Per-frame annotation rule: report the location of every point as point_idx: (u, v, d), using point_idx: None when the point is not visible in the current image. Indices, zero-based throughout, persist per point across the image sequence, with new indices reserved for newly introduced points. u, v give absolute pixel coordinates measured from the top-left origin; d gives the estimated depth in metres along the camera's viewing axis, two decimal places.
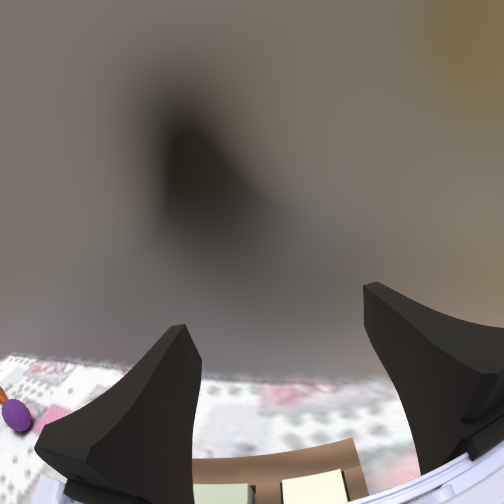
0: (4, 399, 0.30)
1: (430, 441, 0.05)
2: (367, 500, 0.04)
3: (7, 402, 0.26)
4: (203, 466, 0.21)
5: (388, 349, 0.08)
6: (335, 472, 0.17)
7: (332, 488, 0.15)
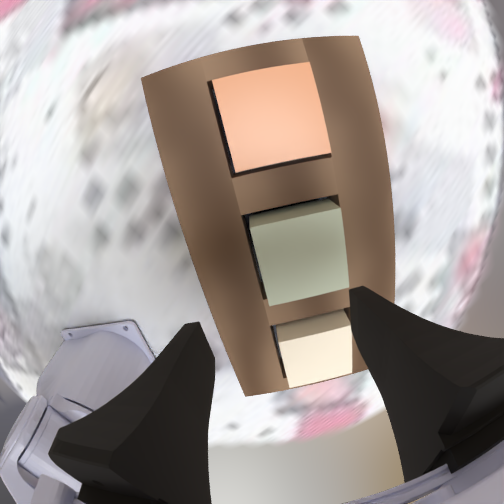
0: None
1: (412, 449, 0.05)
2: (367, 500, 0.04)
3: None
4: (377, 194, 0.16)
5: (373, 354, 0.08)
6: (349, 370, 0.19)
7: (328, 371, 0.19)
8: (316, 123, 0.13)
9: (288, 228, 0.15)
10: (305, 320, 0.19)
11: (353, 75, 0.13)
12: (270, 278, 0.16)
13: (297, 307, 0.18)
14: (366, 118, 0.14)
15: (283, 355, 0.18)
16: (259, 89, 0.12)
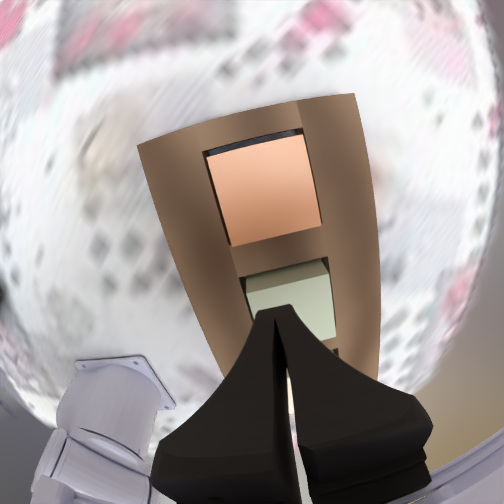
0: None
1: None
2: None
3: None
4: (365, 253, 0.17)
5: None
6: None
7: None
8: (308, 198, 0.14)
9: (280, 292, 0.16)
10: None
11: (347, 138, 0.15)
12: None
13: None
14: (357, 183, 0.16)
15: None
16: (253, 167, 0.14)
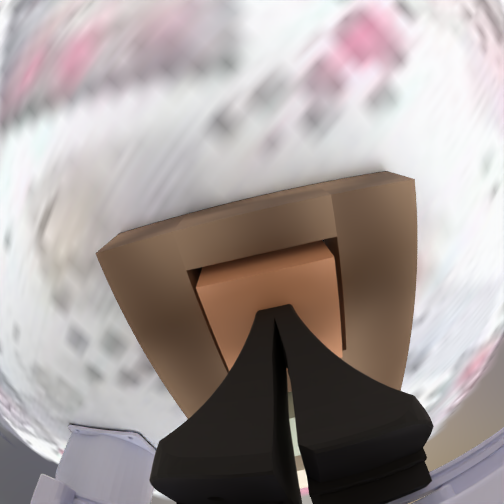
0: None
1: None
2: None
3: None
4: (389, 370, 0.13)
5: (290, 375, 0.09)
6: None
7: None
8: (330, 333, 0.11)
9: None
10: None
11: (395, 249, 0.10)
12: None
13: None
14: (397, 302, 0.11)
15: None
16: (261, 301, 0.10)
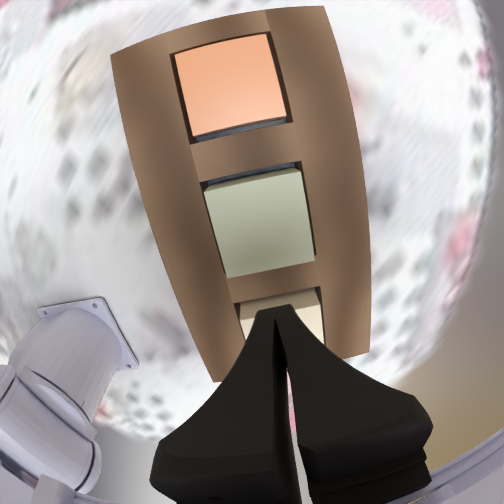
0: None
1: None
2: None
3: None
4: (345, 161, 0.15)
5: None
6: None
7: None
8: (271, 88, 0.13)
9: (243, 192, 0.14)
10: (271, 299, 0.18)
11: (317, 42, 0.12)
12: (227, 247, 0.15)
13: (261, 283, 0.18)
14: (331, 83, 0.13)
15: (246, 335, 0.17)
16: (217, 60, 0.12)
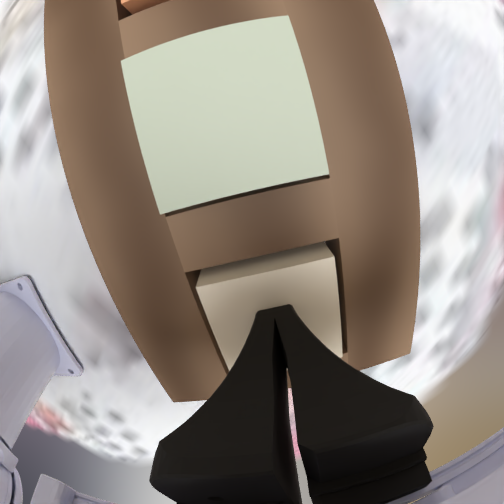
0: None
1: None
2: None
3: None
4: (361, 30, 0.07)
5: None
6: (336, 351, 0.11)
7: None
8: None
9: (186, 49, 0.06)
10: None
11: None
12: (157, 151, 0.07)
13: (232, 234, 0.10)
14: None
15: (209, 315, 0.10)
16: None
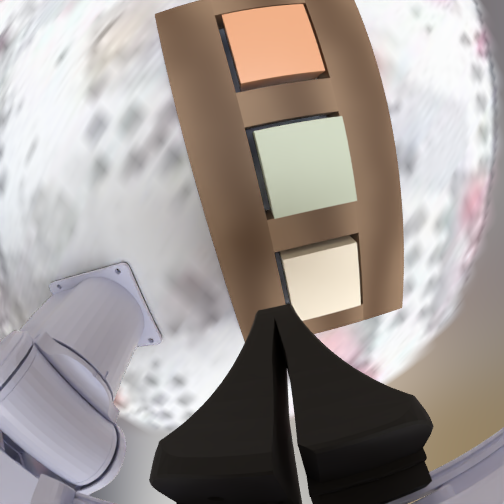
0: None
1: None
2: None
3: None
4: (375, 114, 0.15)
5: None
6: (357, 301, 0.19)
7: (336, 301, 0.19)
8: (310, 47, 0.13)
9: (292, 132, 0.14)
10: None
11: (345, 14, 0.12)
12: (275, 185, 0.15)
13: (303, 230, 0.17)
14: (359, 48, 0.13)
15: (288, 277, 0.18)
16: (262, 21, 0.12)
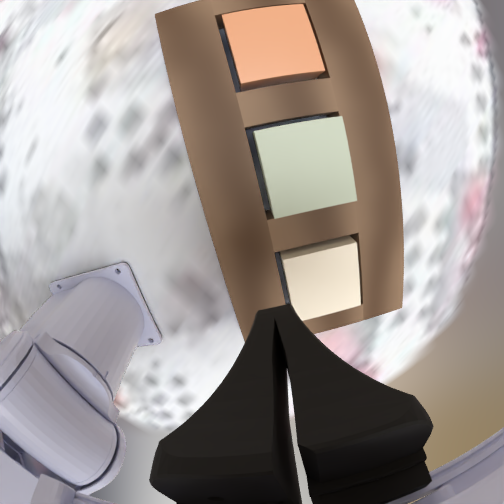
0: None
1: None
2: None
3: None
4: (375, 114, 0.15)
5: None
6: (357, 301, 0.19)
7: (336, 301, 0.19)
8: (310, 47, 0.13)
9: (292, 132, 0.14)
10: None
11: (345, 14, 0.12)
12: (275, 185, 0.15)
13: (303, 230, 0.17)
14: (359, 48, 0.13)
15: (288, 277, 0.18)
16: (262, 21, 0.12)
